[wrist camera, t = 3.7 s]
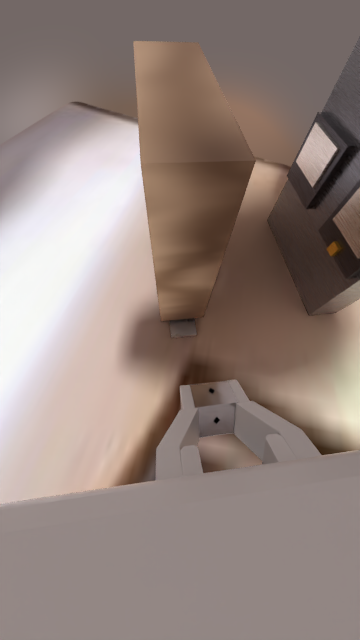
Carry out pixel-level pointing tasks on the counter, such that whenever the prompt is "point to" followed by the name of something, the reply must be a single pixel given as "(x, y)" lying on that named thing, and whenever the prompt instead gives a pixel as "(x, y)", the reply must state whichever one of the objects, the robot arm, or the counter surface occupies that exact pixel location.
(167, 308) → the brown flat angular block
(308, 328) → the counter surface
